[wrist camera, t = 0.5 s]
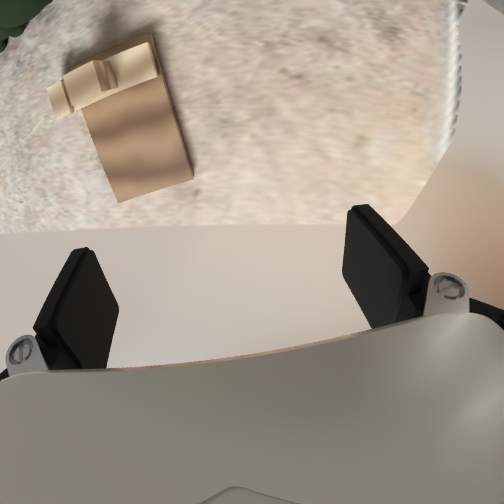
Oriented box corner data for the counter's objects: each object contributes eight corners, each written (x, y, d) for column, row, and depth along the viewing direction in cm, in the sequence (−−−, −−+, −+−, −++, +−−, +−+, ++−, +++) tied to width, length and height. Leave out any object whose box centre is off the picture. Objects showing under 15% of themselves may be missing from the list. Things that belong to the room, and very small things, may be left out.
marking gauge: (61, 85, 30) (28, 93, 23) (152, 44, 30) (135, 37, 23) (70, 114, 33) (39, 128, 26) (161, 76, 33) (146, 77, 25)
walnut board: (75, 68, 30) (69, 68, 28) (152, 34, 30) (149, 32, 28) (121, 197, 43) (118, 203, 41) (193, 174, 42) (193, 179, 41)
